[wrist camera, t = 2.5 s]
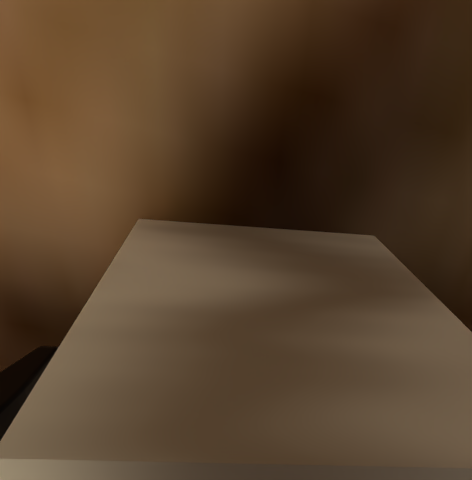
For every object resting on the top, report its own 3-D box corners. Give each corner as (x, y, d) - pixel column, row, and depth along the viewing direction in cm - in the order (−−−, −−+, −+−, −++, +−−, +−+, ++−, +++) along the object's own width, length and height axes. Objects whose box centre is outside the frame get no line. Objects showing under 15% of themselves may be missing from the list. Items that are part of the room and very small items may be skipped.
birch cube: (373, 234, 9) (612, 471, 3) (326, 399, 11) (425, 691, 6) (139, 218, 8) (-10, 458, 3) (143, 393, 11) (65, 700, 5)
